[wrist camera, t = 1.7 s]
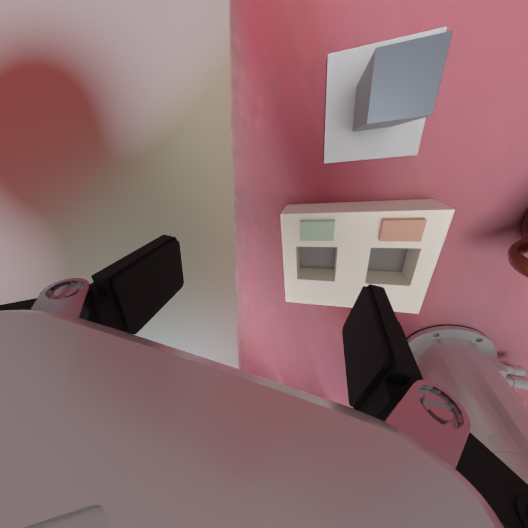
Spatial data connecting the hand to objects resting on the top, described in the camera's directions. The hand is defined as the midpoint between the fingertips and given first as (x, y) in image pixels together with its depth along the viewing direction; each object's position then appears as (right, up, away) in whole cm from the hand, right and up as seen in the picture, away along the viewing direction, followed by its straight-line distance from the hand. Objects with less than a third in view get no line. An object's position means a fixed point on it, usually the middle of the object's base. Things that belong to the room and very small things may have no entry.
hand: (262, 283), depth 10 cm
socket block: (+13, +3, +20) cm, 24 cm away
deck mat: (+12, +18, +12) cm, 25 cm away
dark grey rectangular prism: (+12, +18, +11) cm, 24 cm away
